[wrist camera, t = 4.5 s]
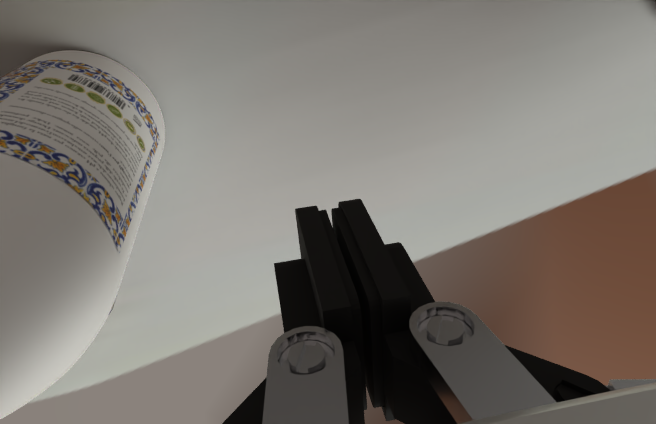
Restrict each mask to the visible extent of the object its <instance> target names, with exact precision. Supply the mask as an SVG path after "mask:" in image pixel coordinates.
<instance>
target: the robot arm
mask: <svg viewBox="0 0 656 424" xmlns="http://www.w3.org/2000/svg"><path fill="white" fill-rule="evenodd" d="M295 212H296V221H297V228H298V236H299V244H300V252H301V259H297V260H292V261H286V262H280V263H274V267H275V274H276V280H277V287H278V294H279V300H280V307H281V313H282V320H283V327H284V334H283V335H281V336H280V337H279V338H277V340H276V341H275V342H274V344H273V345H272V346H271V350H270V353H269V359H268V369H267V377H266V378H265V380H264V381H263V382H262V383H261V384H260V385H259V386H258V387H257V388H256V389H255V390H254V391H253V392H252V393H251V394H250V395H249V396H248V397H247V398H246V399H245V400H244V402H243V403H242V404H241V405H240V406H239V407H238V408H237V409H236V410H235V411H234V412H233V413H232V414H231V415H230V416H229V417H228V418H227V419H226V420H225V421H224V422H223V424H365V422H364V410H366V409H367V399H366V387H367V390H368V393H369V396H370V399H371V402H372V405H373V407H374V408H376V407H381V406H382V409H383V412H384V415H385V418H386V421H390V420H395V419H397V420H399V421H401V422H403V423H405V424H656V379H653V380H652V379H651V380H650V379H647V380H646V379H644V380H642V379H641V380H610V381H609V384H608V386H605V385H603V384H602V383H600V382H599V381H598V380H595V379H593V378H591V377H589V376H587V375H584V374H582V373H579V372H576V371H574V370H571V369H568V368H566V367H563V366H560V365H558V364H555V363H552V362H549V361H547V360H544V359H541V358H538V357H536V356H533V355H530V354H527V353H524V352H522V351H519V350H516V349H514V348H511V347H508V346H506V345H504V344H503V343H502V342H501V341H500V340H499V339H498V338H497V337H496V336H495V335H494V334H493V333H492V331H491V330H490V329H489V328H488V327H487V326H486V325H485V324H484V323H483V322H482V321H481V320H480V319H479V317H478V316H477V315H476V314H474V313H473V312H472V311H471V310H469V309H468V308H466V307H463V306H462V305H459V304H455V303H451V302H435V301H434V299H433V297H432V295H431V294H430V292H429V290H428V289H427V287H426V285H425V284H424V282H423V280H422V278H421V277H420V275H419V273H418V271H417V270H416V268H415V266H414V265H413V263H412V261H411V259H410V257H409V256H408V254H407V252H406V250H405V249H404V247H403V246H402V244H401V243H399V242H398V243H392V244H386V245H384V243H383V241H382V239H381V237H380V235H379V233H378V231H377V229H376V227H375V225H374V224H373V222H372V220H371V218H370V216H369V214H368V212H367V210H366V208H365V206H364V204H363V202H362V200H361V199H355V200H349V201H342V202H339V208H334V209H332V224H333V228H332V225H331V222H330V220H329V217H328V214H327V212H326V210H321V211H318V208H317V206H311V207H304V208H298V209H295Z"/></svg>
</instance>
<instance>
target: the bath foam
mask: <svg viewBox="0 0 656 424" xmlns="http://www.w3.org/2000/svg"><path fill="white" fill-rule="evenodd" d="M164 144H165V125H164V119H163V116H162V112H161V110H160V107H159V105H158V103H157V101H156V99H155V97H154V96H153V94H152V92H151V91H150V90H149V88H148V87H147V86H146V85H145V84H144V82H143V81H142V80H141V79H140V78H139V77H138V76H136V75H135V74H134V73H133V72H132V71H130V70H129V69H127V68H126V67H125V66H123V65H121V64H120V63H118V62H116V61H114V60H112V59H110V58H107V57H105V56H102V55H99V54H95V53H91V52H85V51H76V50H65V51H56V52H51V53H47V54H44V55H41V56H39V57H37V58H34V59H32V60H31V61H29V62H27V63H25V64H24V65H22V66H20V67H19V68H17V69H15V70H13V71H11V72H10V73H8V74H7V75H5V76H3V77H2V78H0V419H2V418H3V417H5V416H7V415H9V414H10V413H12V412H14V411H15V410H17V409H18V408H20V407H22V406H23V405H25V404H26V403H28V402H29V401H31V400H32V399H34V398H35V397H36V396H38V395H39V394H41V393H42V392H44V391H45V390H46V389H47V388H49V387H50V386H51V385H52V384H54V383H55V382H56V381H57V380H58V379H60V378H61V377H62V376H63V375H64V374H65V373H66V372H67V371H68V370H69V369H70V368H71V367H72V366H73V365H74V364H75V363H76V362H77V361H78V360H79V358H80V357H81V356H82V355H83V353H84V352H85V351H86V350H87V348H88V347H89V346H90V345H91V343H92V342H93V340H94V339H95V337H96V336H97V334H98V333H99V331H100V330H101V328H102V326H103V324H104V323H105V321H106V319H107V317H108V315H109V314H110V312H111V311H112V309H113V306H114V303H115V300H116V297H117V293H118V290H119V287H120V284H121V281H122V278H123V275H124V272H125V269H126V266H127V263H128V260H129V257H130V253H131V250H132V247H133V244H134V241H135V238H136V235H137V232H138V228H139V225H140V222H141V219H142V216H143V213H144V210H145V207H146V203H147V200H148V197H149V194H150V191H151V188H152V185H153V182H154V179H155V175H156V172H157V169H158V166H159V163H160V160H161V157H162V153H163V149H164Z"/></svg>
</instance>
